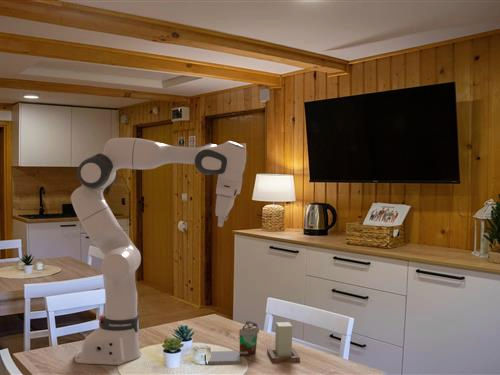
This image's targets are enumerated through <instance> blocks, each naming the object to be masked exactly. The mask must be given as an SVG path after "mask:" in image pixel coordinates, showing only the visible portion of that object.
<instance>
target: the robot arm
mask: <svg viewBox="0 0 500 375" xmlns="http://www.w3.org/2000/svg"><path fill="white" fill-rule="evenodd" d="M246 163H247V150H246V148H245V147H244V146H243V145H241V144H240V143H237V142H235V141H231V140H227V141H225V142H224V143H221V144H218V145H217V144H214V143H205V144H203V145H200V146H181V145H180V146H178V145H170V144H167V143H162V142H159V141H154V140H151V139H146V138H145V139H144V138H141V137H140V138H139V137H138V138H137V137H115V138H110V139H108V140H107V142H105V145H104V147H103V152H102V153H100V152H99V153H97V154H95V155H92V156H90V157H88V158H86V159H84V160H83V161H82V162H81V163H80V164H79V165H78V168H77V171H76V173H77V178H78V180H79V182H80V183H81V185H80V186H79V187H76V189H75V190H74V191H73V192H72V193H71V195H70V201H71V204H72V207H73V210H74V212H75V214H76V217H77V218H78V220H79V222H80V224H81V226H82V227H83V229H84V231H85V232H86V234H87V236H88V238H89V239H90V241H91V243H93V245H95V246H96V247H97V249H99V251H100V252H101V253H102V255H103V256H104V257H103V259H102V263H101V265H100V269H101V273H102V278H103V285H104V293H105V306H104V308H105V309H104V310H105V313H104V314H100V316H99V318H98V319H99V320H98V327H97V328H96V329H95V330H93V331H92V332H91V333H90V334H88V335H87V336H86V337H85V339H84V341H83V343H82V346H81V348H80V349H79V350H78V351H77V352H76V353H75V356H74V362H75V363H77V364H88V365H91V364H93V365H110V366H113V365H114V366H115V365H116V366H119V365H122V364H125V363H126V362H130V361H134V360H136V359H138V358H139V357H141V354H142V352H141V350H140V349H141V348H140V344H139V336H138V331H139V315H138V291H137V284H136V271H137V270H138V268H139V267H140V265H141V262H142V261H141V260H142V256H141V252H140V250H139V249H138V248H137V247H136V246H135V244H134V243H133V241H132V240H131V238H130V237H129V235H127V233H126V232H125V231H124V230H123V228H122V226H120V225H121V224H119V221H118V220H117V218H116V217H115V215H114V214H113V211H112V210H111V208H110V206H109V205H108V203H107V201H106V199H105V197H104V193H105V192H106V191H107V190H108V189H109V188H110V187H111V186H112V185H113V184H114V183H115V181H116V180H117V177H118V170H120V169H132V170H142V171H143V170H154V169H156V168H159V167H160V166H163V165H167V164H187V165H195V168H196V170H197V171H198V172H199V173H201V174H203V175H207V176H209V175H211V176H213V175H218V177H217V182H216V183H217V184H216V188H215V190H216V191H215V194H216V201H215V210H214V211H215V213H214V214H215V216H217V217H218V218H217V227H219V228H222V227H223V226H224V223H225V222H227V220H228V218H229V214H230V211H231V210H232V208H233V207H234V203H235V199H236V197H237V195H240V194H241V190H242V185H243V174H244V172H245V169H246Z"/></svg>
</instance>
